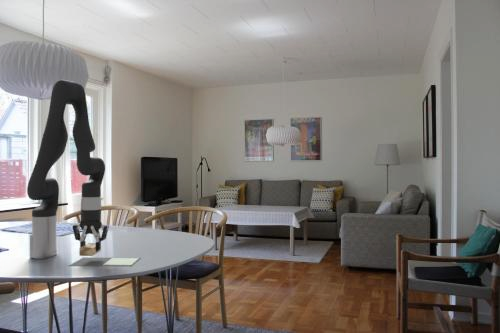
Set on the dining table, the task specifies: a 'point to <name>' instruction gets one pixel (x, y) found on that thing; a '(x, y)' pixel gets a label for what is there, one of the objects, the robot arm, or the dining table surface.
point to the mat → (106, 262)
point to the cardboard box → (88, 250)
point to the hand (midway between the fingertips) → (90, 250)
